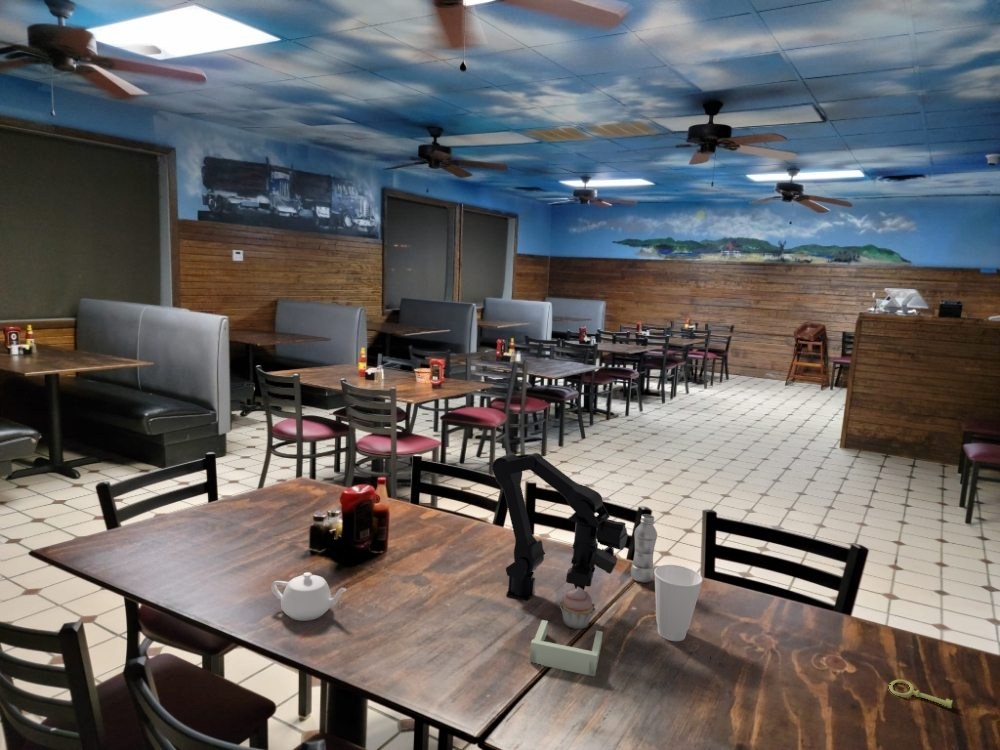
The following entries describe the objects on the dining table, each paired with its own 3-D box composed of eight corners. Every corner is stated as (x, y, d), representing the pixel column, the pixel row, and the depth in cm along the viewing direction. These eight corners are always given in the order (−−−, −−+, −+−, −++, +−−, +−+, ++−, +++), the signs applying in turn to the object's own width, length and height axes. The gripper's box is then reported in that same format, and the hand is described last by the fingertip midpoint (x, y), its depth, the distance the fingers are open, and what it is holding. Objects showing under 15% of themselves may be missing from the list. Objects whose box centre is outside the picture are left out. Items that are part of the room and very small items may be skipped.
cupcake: (573, 610, 178) (576, 575, 177) (601, 624, 172) (604, 588, 170) (549, 621, 172) (553, 585, 170) (578, 637, 165) (581, 599, 164)
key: (953, 714, 145) (955, 705, 145) (889, 696, 150) (890, 688, 150) (947, 696, 152) (948, 687, 152) (885, 680, 157) (886, 671, 156)
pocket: (529, 662, 153) (531, 642, 152) (540, 632, 166) (542, 614, 165) (594, 676, 149) (596, 655, 148) (601, 645, 162) (603, 626, 161)
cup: (696, 628, 173) (703, 570, 171) (694, 651, 162) (701, 589, 160) (650, 617, 177) (656, 560, 175) (644, 639, 166) (651, 579, 163)
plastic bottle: (652, 586, 195) (660, 521, 192) (629, 583, 196) (636, 518, 193) (652, 577, 201) (659, 514, 198) (629, 573, 202) (636, 511, 199)
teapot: (355, 606, 172) (356, 569, 171) (334, 631, 160) (335, 591, 159) (284, 594, 176) (284, 558, 174) (258, 617, 164) (259, 578, 162)
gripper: (613, 558, 163) (607, 618, 165) (619, 531, 181) (613, 585, 183) (568, 551, 165) (563, 610, 168) (578, 525, 183) (573, 578, 186)
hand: (580, 595), depth 176 cm, fingers closed
